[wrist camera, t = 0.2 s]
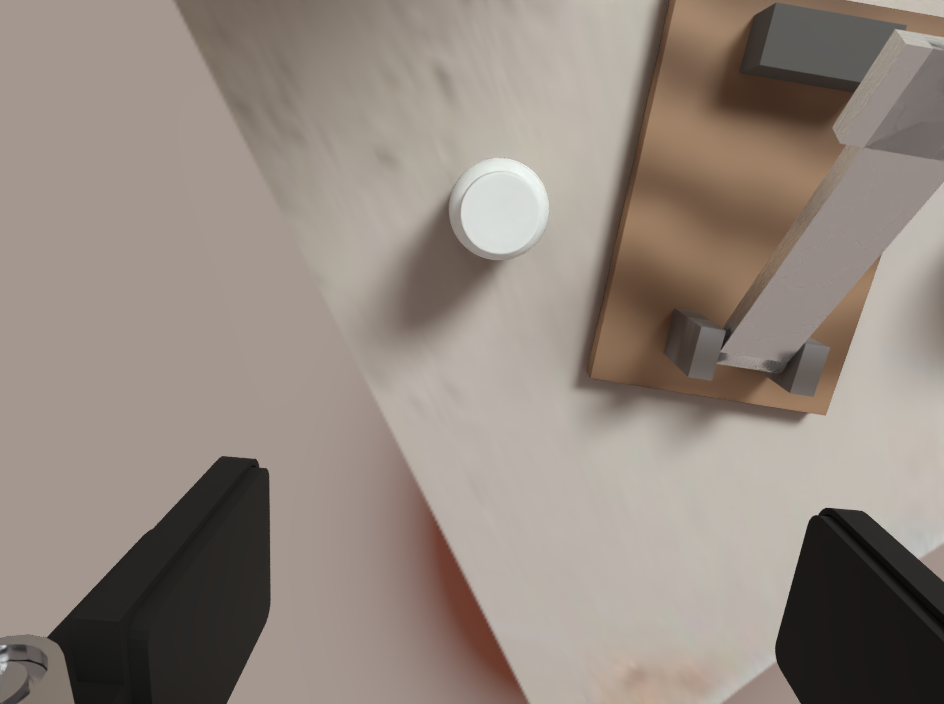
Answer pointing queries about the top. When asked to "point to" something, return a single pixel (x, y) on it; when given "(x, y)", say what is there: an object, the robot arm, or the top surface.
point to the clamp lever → (850, 204)
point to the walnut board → (723, 211)
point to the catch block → (814, 46)
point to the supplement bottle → (498, 209)
